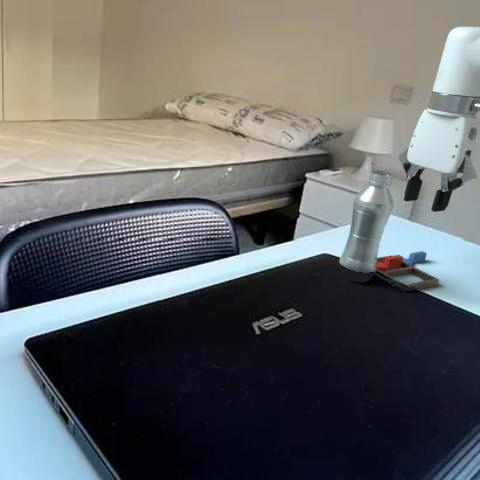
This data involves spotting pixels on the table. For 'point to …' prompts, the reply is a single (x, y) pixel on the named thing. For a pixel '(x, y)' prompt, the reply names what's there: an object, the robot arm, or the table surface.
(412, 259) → the blue stepped block
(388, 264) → the red stepped block
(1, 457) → the table surface
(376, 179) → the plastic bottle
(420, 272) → the cutlery tray
